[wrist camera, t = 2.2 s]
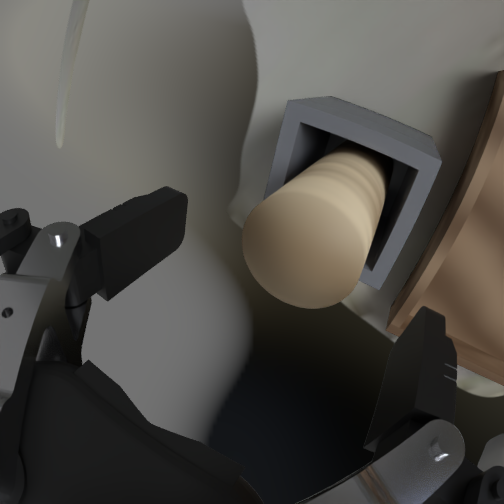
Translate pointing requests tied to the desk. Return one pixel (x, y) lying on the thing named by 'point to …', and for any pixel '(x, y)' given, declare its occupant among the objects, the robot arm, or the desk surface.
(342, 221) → the dowel
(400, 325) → the tray
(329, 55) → the desk surface
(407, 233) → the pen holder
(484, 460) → the cup
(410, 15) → the desk surface
